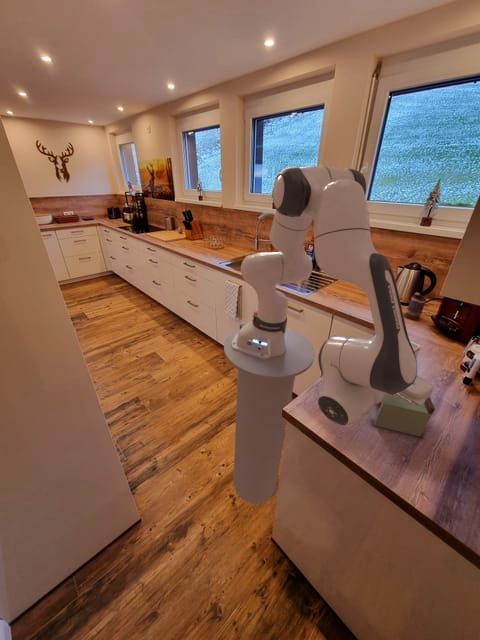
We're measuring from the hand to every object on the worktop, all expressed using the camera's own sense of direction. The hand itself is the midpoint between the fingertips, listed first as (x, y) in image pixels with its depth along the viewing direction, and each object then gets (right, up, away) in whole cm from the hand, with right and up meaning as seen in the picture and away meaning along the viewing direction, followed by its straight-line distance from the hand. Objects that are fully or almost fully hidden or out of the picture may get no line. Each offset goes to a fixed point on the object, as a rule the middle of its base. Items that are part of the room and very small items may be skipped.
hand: (398, 361), depth 70 cm
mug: (+50, +13, +71) cm, 87 cm away
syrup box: (-1, -8, +4) cm, 9 cm away
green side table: (+4, -18, +10) cm, 21 cm away
